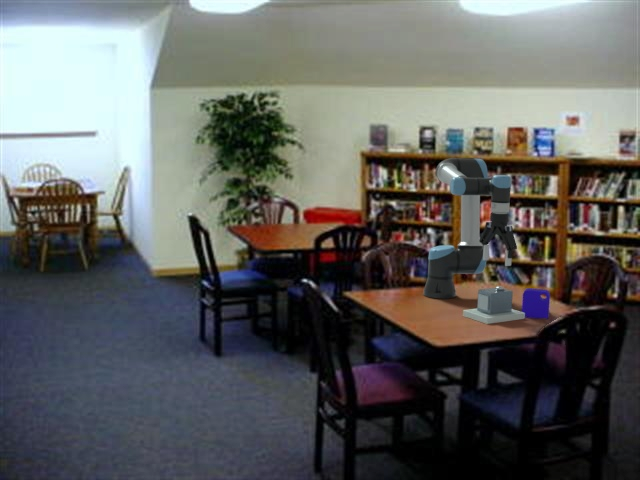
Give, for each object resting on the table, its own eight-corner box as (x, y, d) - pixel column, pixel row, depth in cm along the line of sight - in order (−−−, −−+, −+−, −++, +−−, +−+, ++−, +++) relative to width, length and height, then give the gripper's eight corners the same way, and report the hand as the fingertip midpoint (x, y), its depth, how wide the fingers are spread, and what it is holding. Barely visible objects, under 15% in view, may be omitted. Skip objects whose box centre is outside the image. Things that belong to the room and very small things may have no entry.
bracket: (547, 319, 359) (549, 292, 358) (521, 316, 363) (523, 289, 361) (550, 310, 376) (552, 284, 375) (525, 307, 380) (526, 282, 378)
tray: (462, 315, 361) (463, 309, 361) (500, 311, 372) (500, 305, 371) (486, 323, 348) (487, 317, 348) (524, 318, 359) (525, 312, 359)
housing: (476, 310, 360) (477, 287, 358) (498, 307, 366) (499, 284, 365) (488, 314, 353) (490, 290, 351) (511, 311, 359) (512, 288, 358)
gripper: (472, 209, 362) (470, 258, 365) (514, 216, 341) (510, 268, 344) (486, 208, 366) (483, 257, 369) (527, 216, 345) (524, 267, 348)
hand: (496, 262), depth 357 cm, fingers open, 13 cm apart
